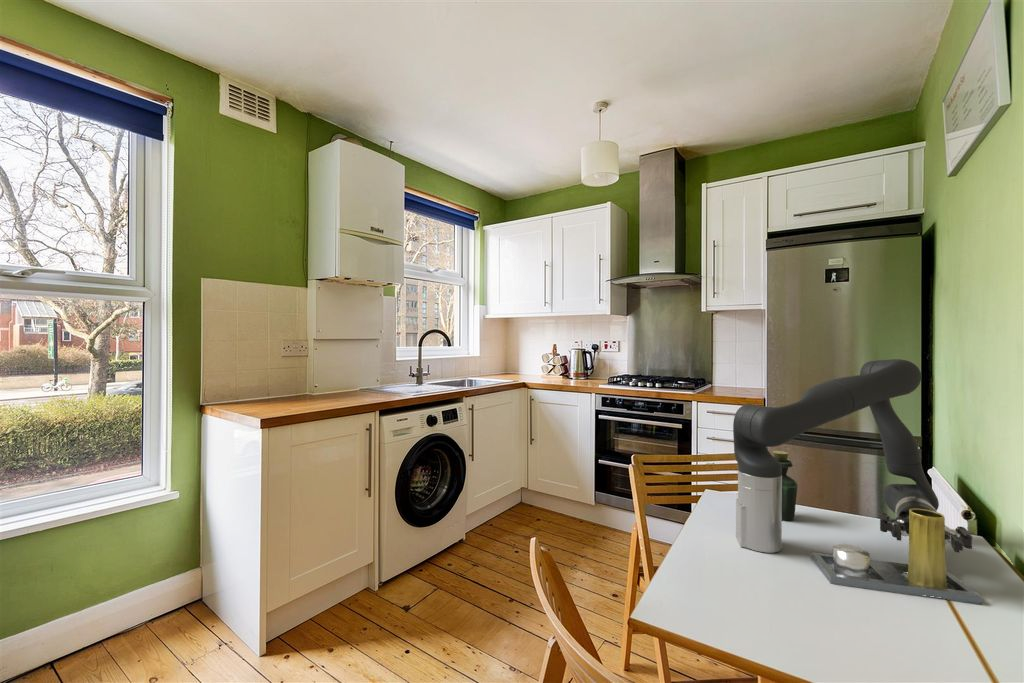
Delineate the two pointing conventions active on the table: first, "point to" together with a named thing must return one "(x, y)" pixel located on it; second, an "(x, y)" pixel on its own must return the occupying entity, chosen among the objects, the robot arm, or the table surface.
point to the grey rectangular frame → (883, 575)
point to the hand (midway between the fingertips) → (927, 541)
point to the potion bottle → (787, 487)
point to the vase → (927, 548)
